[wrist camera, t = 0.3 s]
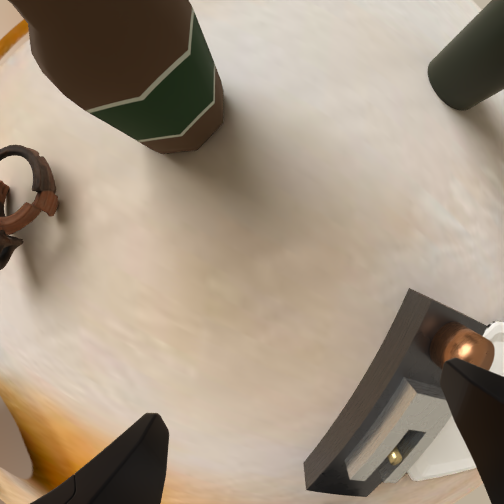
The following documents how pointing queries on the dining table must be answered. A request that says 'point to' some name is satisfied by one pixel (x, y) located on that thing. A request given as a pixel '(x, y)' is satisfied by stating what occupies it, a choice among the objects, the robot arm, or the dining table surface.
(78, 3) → the beer bottle
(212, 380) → the dining table surface
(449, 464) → the plate
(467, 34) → the wine bottle
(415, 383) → the lever cap
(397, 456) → the body
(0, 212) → the brown looped piece
